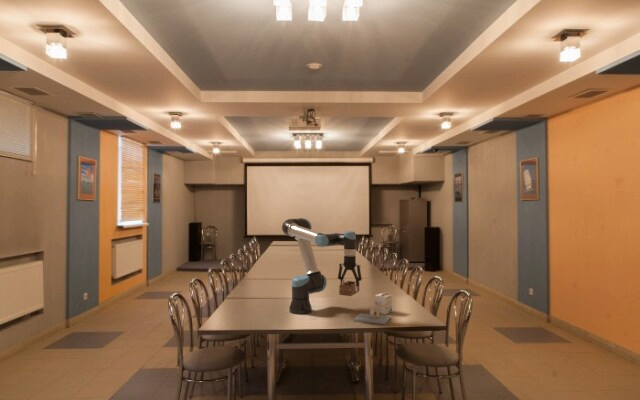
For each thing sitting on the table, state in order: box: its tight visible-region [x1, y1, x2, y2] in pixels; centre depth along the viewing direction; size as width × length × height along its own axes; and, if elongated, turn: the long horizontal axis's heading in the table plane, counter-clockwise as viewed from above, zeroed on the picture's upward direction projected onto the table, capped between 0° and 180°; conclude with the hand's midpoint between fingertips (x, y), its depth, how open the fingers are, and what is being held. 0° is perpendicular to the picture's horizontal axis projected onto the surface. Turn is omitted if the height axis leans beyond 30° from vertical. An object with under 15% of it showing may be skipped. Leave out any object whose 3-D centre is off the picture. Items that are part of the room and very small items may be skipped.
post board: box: [353, 307, 391, 325], centre depth 266 cm, size 20×14×7 cm
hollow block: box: [338, 280, 360, 297], centre depth 272 cm, size 16×8×6 cm, turn 157°
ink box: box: [374, 291, 393, 316], centre depth 284 cm, size 9×8×13 cm
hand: (349, 290), depth 272 cm, fingers closed on hollow block, 8 cm apart
